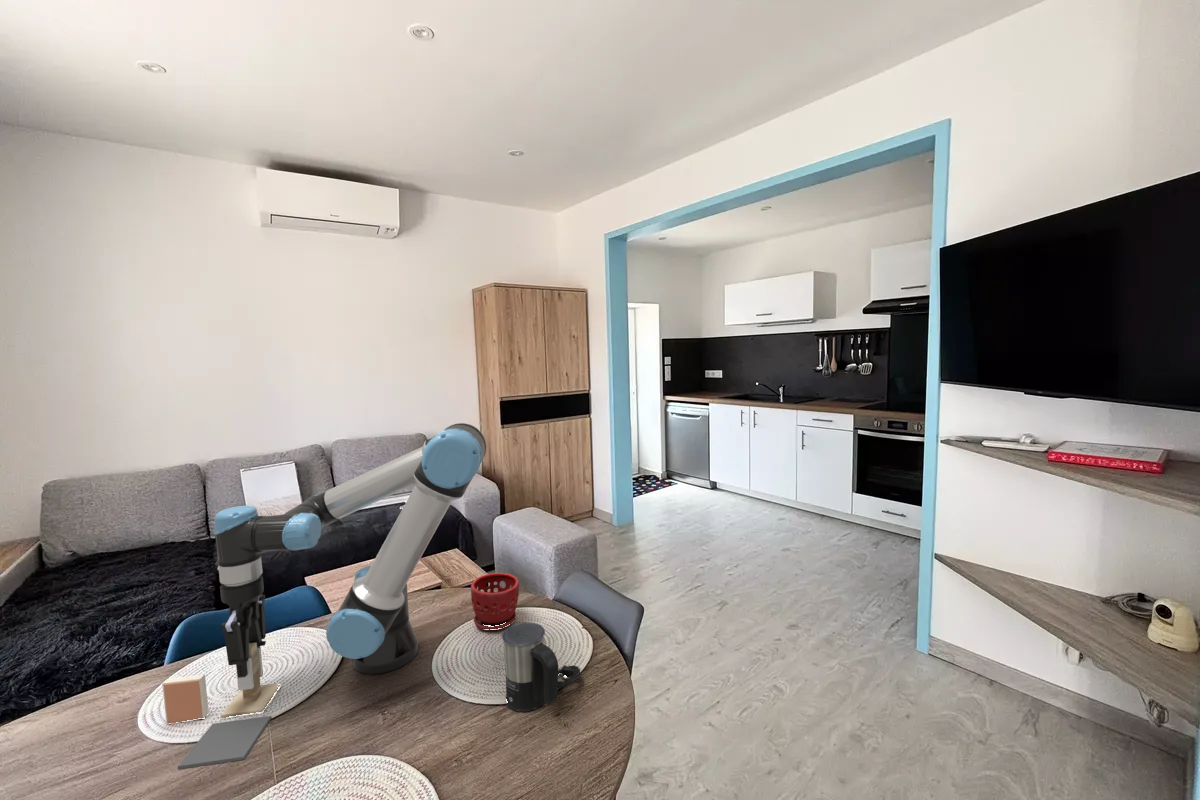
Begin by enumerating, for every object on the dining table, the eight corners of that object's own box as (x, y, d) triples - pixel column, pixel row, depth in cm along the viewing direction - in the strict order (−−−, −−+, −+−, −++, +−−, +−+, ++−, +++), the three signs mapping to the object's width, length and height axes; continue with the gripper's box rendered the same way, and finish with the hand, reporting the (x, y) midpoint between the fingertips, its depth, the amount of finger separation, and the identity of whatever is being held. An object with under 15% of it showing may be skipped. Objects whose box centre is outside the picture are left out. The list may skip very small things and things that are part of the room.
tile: (208, 714, 107) (204, 674, 106) (203, 720, 105) (199, 679, 105) (171, 719, 106) (167, 678, 105) (166, 725, 104) (161, 683, 103)
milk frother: (496, 706, 107) (493, 639, 106) (533, 663, 122) (531, 605, 120) (555, 723, 102) (553, 653, 100) (587, 677, 116) (585, 615, 115)
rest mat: (271, 718, 105) (271, 715, 105) (244, 759, 95) (243, 756, 94) (212, 726, 103) (212, 723, 103) (178, 769, 93) (177, 766, 93)
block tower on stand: (281, 686, 116) (277, 632, 115) (263, 714, 107) (257, 655, 106) (243, 691, 114) (238, 637, 113) (221, 719, 106) (215, 660, 104)
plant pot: (471, 638, 133) (469, 595, 132) (473, 614, 146) (471, 574, 145) (521, 632, 136) (519, 589, 135) (519, 608, 149) (517, 569, 148)
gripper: (242, 565, 116) (251, 662, 118) (198, 599, 99) (209, 710, 101) (278, 562, 117) (286, 658, 119) (240, 595, 101) (250, 705, 103)
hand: (251, 682), depth 110 cm, fingers open, 3 cm apart
